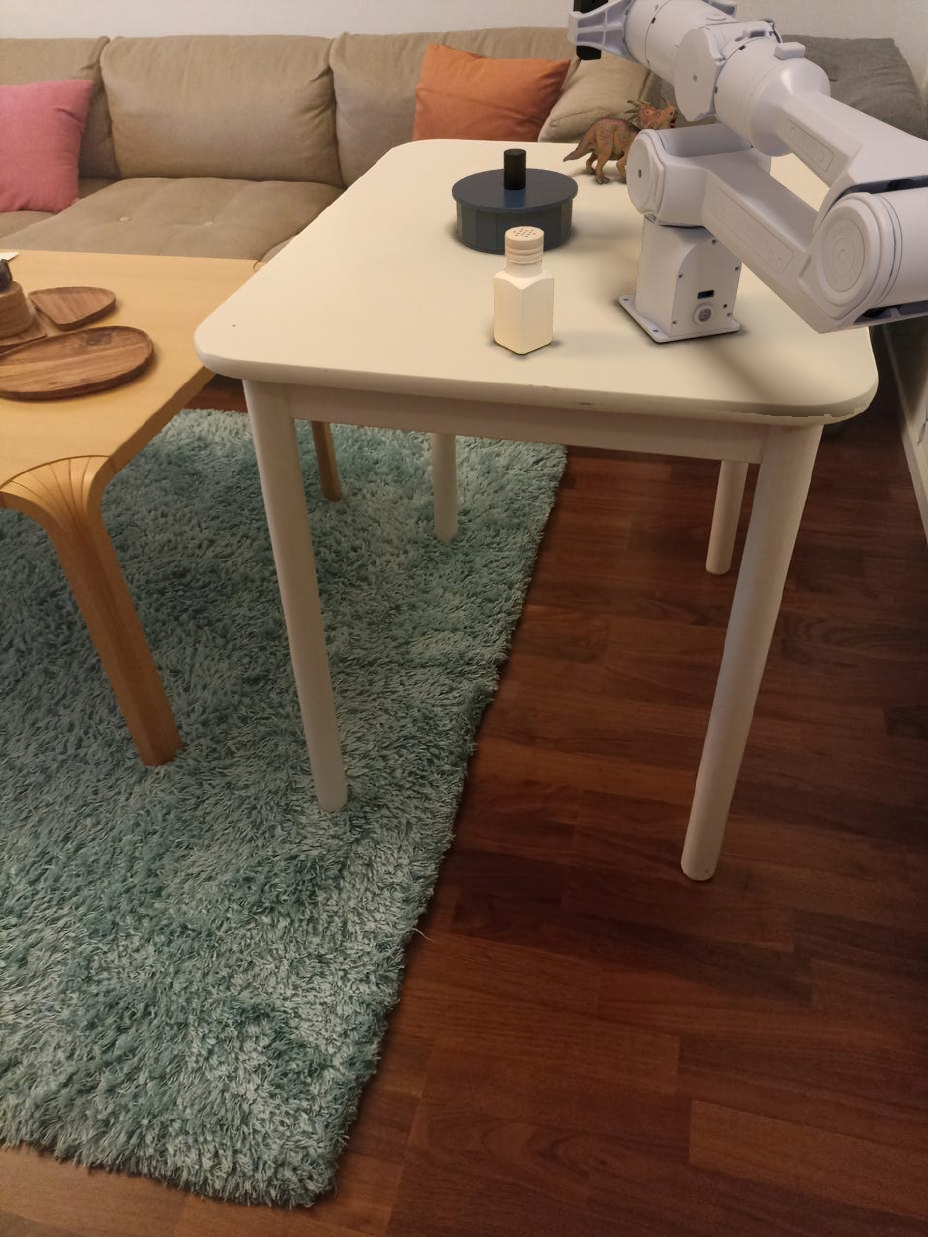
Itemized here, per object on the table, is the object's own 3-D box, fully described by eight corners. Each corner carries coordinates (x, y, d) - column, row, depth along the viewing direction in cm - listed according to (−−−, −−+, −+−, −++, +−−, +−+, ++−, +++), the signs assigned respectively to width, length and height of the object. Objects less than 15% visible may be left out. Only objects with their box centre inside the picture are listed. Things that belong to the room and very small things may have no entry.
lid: (595, 210, 90) (598, 162, 87) (469, 225, 88) (467, 177, 84) (554, 172, 99) (556, 128, 96) (439, 186, 97) (437, 141, 94)
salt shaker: (525, 329, 78) (526, 220, 72) (555, 343, 76) (559, 232, 69) (491, 342, 76) (489, 232, 70) (521, 358, 74) (521, 245, 68)
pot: (586, 246, 93) (589, 202, 90) (474, 260, 91) (473, 217, 88) (550, 209, 102) (551, 168, 99) (447, 221, 100) (445, 181, 97)
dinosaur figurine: (669, 169, 111) (679, 87, 104) (671, 184, 107) (682, 99, 100) (563, 169, 112) (567, 88, 106) (561, 183, 108) (564, 100, 102)
